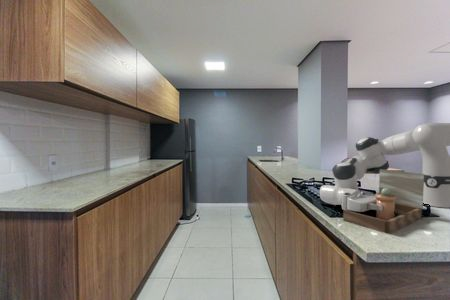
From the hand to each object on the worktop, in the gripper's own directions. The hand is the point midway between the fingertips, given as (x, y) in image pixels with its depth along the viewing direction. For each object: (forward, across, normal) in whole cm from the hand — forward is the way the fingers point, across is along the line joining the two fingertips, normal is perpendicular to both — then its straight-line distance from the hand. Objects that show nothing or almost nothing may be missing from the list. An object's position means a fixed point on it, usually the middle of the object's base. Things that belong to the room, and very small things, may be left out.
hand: (387, 206), depth 99 cm
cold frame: (-1, 0, -6) cm, 6 cm away
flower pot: (-1, 0, -6) cm, 6 cm away
